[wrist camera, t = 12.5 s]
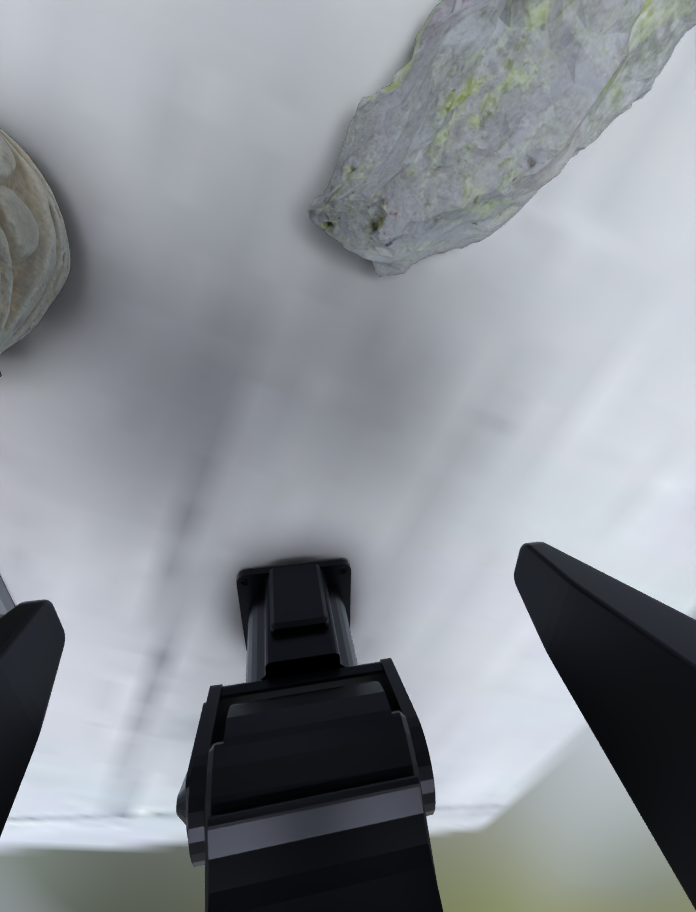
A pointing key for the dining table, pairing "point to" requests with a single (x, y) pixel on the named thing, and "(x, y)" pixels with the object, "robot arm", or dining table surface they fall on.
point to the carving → (27, 244)
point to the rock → (488, 118)
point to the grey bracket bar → (4, 600)
